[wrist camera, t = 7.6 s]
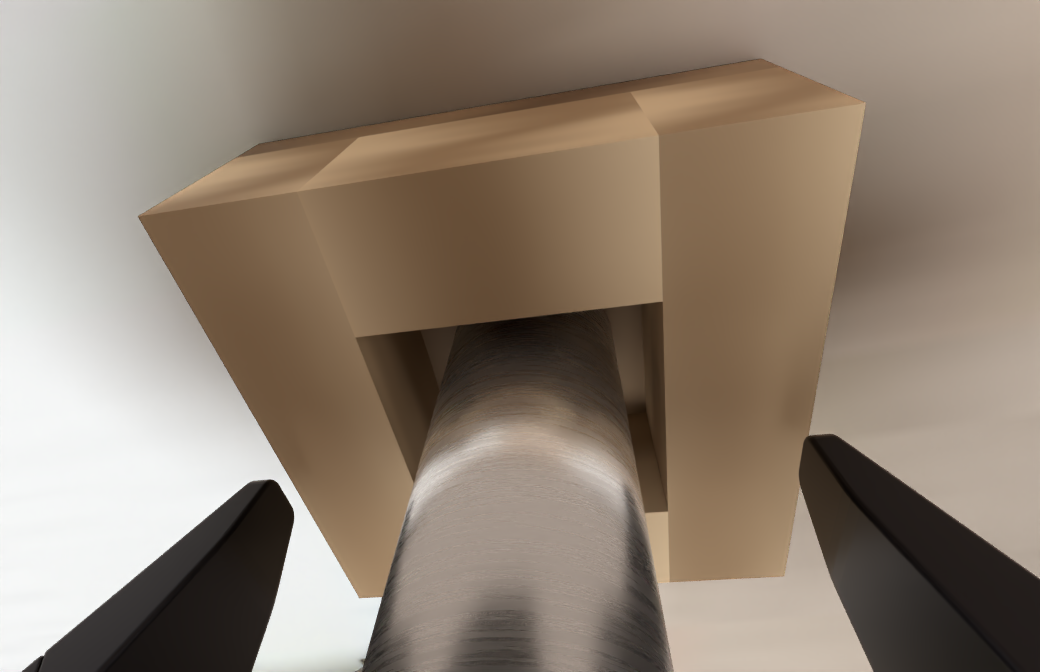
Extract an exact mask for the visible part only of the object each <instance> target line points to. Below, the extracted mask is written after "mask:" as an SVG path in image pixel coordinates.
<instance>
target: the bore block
mask: <svg viewBox="0 0 1040 672" xmlns="http://www.w3.org/2000/svg"><path fill="white" fill-rule="evenodd" d="M865 106H866V103H865V102H863V101H860V100H858V99H856V98H853V97H851V96H849V95H846V94H844V93H841V92H839V91H837V90H834V89H832V88H830V87H827V86H825V85H822V84H820V83H818V82H815V81H813V80H811V79H808V78H806V77H803V76H801V75H799V74H796V73H794V72H792V71H789V70H787V69H784V68H782V67H780V66H777V65H775V64H773V63H770V62H768V61H765V60H763V59H757V60H751V61H745V62H739V63H733V64H727V65H722V66H716V67H710V68H704V69H698V70H692V71H686V72H680V73H674V74H668V75H663V76H657V77H651V78H645V79H639V80H633V81H627V82H621V83H615V84H610V85H604V86H598V87H592V88H586V89H580V90H574V91H568V92H562V93H556V94H551V95H545V96H539V97H533V98H527V99H521V100H515V101H509V102H503V103H498V104H492V105H486V106H480V107H474V108H468V109H462V110H456V111H450V112H445V113H439V114H433V115H427V116H421V117H415V118H409V119H403V120H397V121H391V122H386V123H380V124H374V125H368V126H362V127H356V128H350V129H344V130H338V131H333V132H327V133H321V134H315V135H309V136H303V137H297V138H291V139H285V140H279V141H274V142H268V143H262V144H258V145H256V146H255V147H253V148H251V149H250V150H248V151H246V152H245V153H243V154H241V155H240V156H238V157H236V158H235V159H233V160H231V161H230V162H228V163H226V164H225V165H223V166H221V167H220V168H218V169H216V170H215V171H213V172H211V173H210V174H208V175H206V176H205V177H203V178H201V179H200V180H198V181H196V182H195V183H193V184H191V185H189V186H188V187H186V188H184V189H183V190H181V191H179V192H178V193H176V194H174V195H173V196H171V197H169V198H168V199H166V200H164V201H163V202H161V203H159V204H158V205H156V206H154V207H153V208H151V209H149V210H148V211H146V212H144V213H143V214H141V215H139V216H138V218H139V219H140V221H141V223H142V224H143V226H144V228H145V230H146V231H147V233H148V235H149V236H150V238H151V240H152V242H153V243H154V245H155V247H156V249H157V250H158V252H159V254H160V255H161V257H162V259H163V261H164V262H165V264H166V266H167V267H168V269H169V271H170V273H171V274H172V276H173V278H174V280H175V281H176V283H177V285H178V286H179V288H180V290H181V292H182V293H183V295H184V297H185V298H186V300H187V302H188V304H189V305H190V307H191V309H192V311H193V312H194V314H195V316H196V317H197V319H198V321H199V323H200V324H201V326H202V328H203V329H204V331H205V333H206V335H207V336H208V338H209V340H210V342H211V343H212V345H213V347H214V348H215V350H216V352H217V354H218V355H219V357H220V359H221V360H222V362H223V364H224V366H225V367H226V369H227V371H228V373H229V374H230V376H231V378H232V379H233V381H234V383H235V385H236V386H237V388H238V390H239V391H240V393H241V395H242V397H243V398H244V400H245V402H246V403H247V405H248V407H249V409H250V410H251V412H252V414H253V416H254V417H255V419H256V421H257V422H258V424H259V426H260V428H261V429H262V431H263V433H264V434H265V436H266V438H267V440H268V441H269V443H270V445H271V447H272V448H273V450H274V452H275V453H276V455H277V457H278V459H279V460H280V462H281V464H282V465H283V467H284V469H285V471H286V472H287V474H288V476H289V478H290V479H291V481H292V483H293V484H294V486H295V488H296V490H297V491H298V493H299V495H300V496H301V498H302V500H303V502H304V503H305V505H306V507H307V509H308V510H309V512H310V514H311V515H312V517H313V519H314V521H315V522H316V524H317V526H318V527H319V529H320V531H321V533H322V534H323V536H324V538H325V540H326V541H327V543H328V545H329V546H330V548H331V550H332V552H333V553H334V555H335V557H336V558H337V560H338V562H339V564H340V565H341V567H342V569H343V571H344V572H345V574H346V576H347V577H348V579H349V581H350V583H351V584H352V586H353V588H354V589H355V591H356V593H357V595H358V596H359V598H370V597H383V593H384V590H385V586H386V582H387V579H388V575H389V572H390V568H391V564H392V561H393V557H394V553H395V550H396V546H397V542H398V539H399V535H400V532H401V528H402V524H403V521H404V517H405V513H406V510H407V506H408V503H409V499H410V495H411V492H412V488H413V484H414V481H415V477H416V474H417V470H418V466H419V463H420V459H421V455H422V452H423V448H424V445H425V441H426V437H427V434H428V430H429V426H430V423H431V419H432V416H433V412H434V408H435V405H436V401H437V397H438V394H439V390H440V387H441V383H442V379H443V376H444V372H445V368H446V365H447V361H448V358H449V354H450V350H451V347H452V343H453V339H454V336H455V332H456V329H457V326H458V325H466V324H475V323H484V322H492V321H501V320H509V319H518V318H526V317H535V316H543V315H552V314H561V313H569V312H578V311H586V310H595V309H604V311H605V313H606V315H607V317H608V319H609V322H610V325H611V329H612V335H613V340H614V346H615V351H616V357H617V362H618V368H619V373H620V379H621V384H622V390H623V395H624V401H625V407H626V412H627V418H628V423H629V429H630V434H631V440H632V445H633V451H634V456H635V462H636V467H637V473H638V478H639V484H640V489H641V495H642V500H643V506H644V511H645V517H646V522H647V528H648V533H649V539H650V544H651V550H652V555H653V561H654V566H655V572H656V577H657V583H663V582H682V581H702V580H721V579H741V578H760V577H780V576H784V574H785V568H786V562H787V557H788V551H789V545H790V539H791V534H792V528H793V522H794V516H795V510H796V505H797V499H798V493H799V487H800V482H799V465H800V459H801V454H802V448H803V442H804V440H805V438H806V437H807V436H808V435H809V430H810V424H811V418H812V412H813V406H814V401H815V395H816V389H817V383H818V378H819V372H820V366H821V360H822V354H823V349H824V343H825V337H826V331H827V326H828V320H829V314H830V308H831V302H832V297H833V291H834V285H835V279H836V274H837V268H838V262H839V256H840V250H841V245H842V239H843V233H844V227H845V222H846V216H847V210H848V204H849V198H850V193H851V187H852V181H853V175H854V170H855V164H856V158H857V152H858V146H859V141H860V135H861V129H862V123H863V118H864V112H865Z"/></svg>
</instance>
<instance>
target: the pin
mask: <svg viewBox="0 0 1040 672" xmlns="http://www.w3.org/2000/svg"><path fill="white" fill-rule="evenodd" d="M362 672H674V671H673V665H672V660H671V654H670V649H669V643H668V638H667V632H666V627H665V621H664V616H663V610H662V605H661V599H660V594H659V588H658V583H657V577H656V572H655V566H654V561H653V555H652V550H651V544H650V539H649V533H648V528H647V522H646V517H645V511H644V506H643V500H642V495H641V489H640V484H639V478H638V473H637V467H636V462H635V456H634V451H633V445H632V440H631V434H630V429H629V423H628V418H627V412H626V407H625V401H624V395H623V390H622V384H621V379H620V373H619V368H618V362H617V357H616V351H615V346H614V340H613V335H612V329H611V325H610V322H609V319H608V317H607V315H606V313H605V311H604V309H595V310H586V311H578V312H569V313H561V314H552V315H543V316H535V317H526V318H518V319H509V320H501V321H492V322H484V323H475V324H466V325H458V326H457V329H456V332H455V336H454V339H453V343H452V347H451V350H450V354H449V358H448V361H447V365H446V368H445V372H444V376H443V379H442V383H441V387H440V390H439V394H438V397H437V401H436V405H435V408H434V412H433V416H432V419H431V423H430V426H429V430H428V434H427V437H426V441H425V445H424V448H423V452H422V455H421V459H420V463H419V466H418V470H417V474H416V477H415V481H414V484H413V488H412V492H411V495H410V499H409V503H408V506H407V510H406V513H405V517H404V521H403V524H402V528H401V532H400V535H399V539H398V542H397V546H396V550H395V553H394V557H393V561H392V564H391V568H390V572H389V575H388V579H387V582H386V586H385V590H384V593H383V597H382V601H381V604H380V608H379V611H378V615H377V619H376V622H375V626H374V630H373V633H372V637H371V640H370V644H369V648H368V651H367V655H366V659H365V662H364V666H363V669H362Z"/></svg>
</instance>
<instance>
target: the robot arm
mask: <svg viewBox="0 0 1040 672" xmlns="http://www.w3.org/2000/svg"><path fill="white" fill-rule="evenodd" d="M799 482H800V486H801V489H802V493H803V496H804V499H805V502H806V505H807V508H808V511H809V514H810V517H811V520H812V523H813V526H814V529H815V532H816V535H817V538H818V541H819V544H820V547H821V550H822V553H823V556H824V559H825V562H826V565H827V568H828V571H829V574H830V576H831V579H832V581H833V584H834V586H835V588H836V591H837V593H838V595H839V597H840V600H841V602H842V604H843V606H844V608H845V610H846V613H847V615H848V617H849V619H850V621H851V624H852V626H853V628H854V630H855V632H856V634H857V637H858V639H859V641H860V643H861V645H862V648H863V650H864V652H865V654H866V656H867V658H868V661H869V663H870V665H871V667H872V669H873V672H1040V579H1039V578H1038V577H1037V576H1035V575H1034V574H1032V573H1031V572H1029V571H1028V570H1027V569H1025V568H1024V567H1022V566H1021V565H1020V564H1018V563H1017V562H1015V561H1014V560H1012V559H1011V558H1010V557H1008V556H1007V555H1005V554H1004V553H1003V552H1001V551H1000V550H998V549H997V548H995V547H994V546H993V545H991V544H990V543H988V542H987V541H986V540H984V539H983V538H981V537H980V536H978V535H977V534H976V533H974V532H973V531H971V530H970V529H969V528H967V527H966V526H964V525H963V524H961V523H960V522H959V521H957V520H956V519H954V518H953V517H952V516H950V515H949V514H947V513H946V512H944V511H943V510H942V509H940V508H939V507H937V506H936V505H935V504H933V503H932V502H930V501H929V500H927V499H926V498H925V497H923V496H922V495H920V494H919V493H918V492H916V491H915V490H913V489H912V488H910V487H909V486H908V485H906V484H905V483H903V482H902V481H901V480H899V479H898V478H896V477H895V476H893V475H892V474H891V473H889V472H888V471H886V470H885V469H884V468H882V467H881V466H879V465H878V464H876V463H875V462H874V461H872V460H871V459H869V458H868V457H867V456H865V455H864V454H862V453H861V452H859V451H858V450H857V449H855V448H854V447H852V446H851V445H850V444H848V443H847V442H845V441H844V440H842V439H841V438H840V437H838V436H836V435H834V434H822V435H810V436H807V437H806V438H805V440H804V442H803V448H802V454H801V459H800V465H799ZM293 523H294V511H293V508H292V506H291V504H290V503H289V501H288V499H287V498H286V496H285V494H284V493H283V491H282V489H281V488H280V486H279V484H278V483H277V482H276V481H274V480H258V481H252V482H250V483H248V484H247V485H245V486H244V487H243V488H242V489H241V490H239V491H238V492H237V493H236V494H235V495H233V496H232V497H231V498H230V499H229V500H227V501H226V502H225V503H224V504H223V505H221V506H220V507H219V508H218V509H217V510H215V511H214V512H213V513H212V514H211V515H209V516H208V517H207V518H206V519H205V520H203V521H202V522H201V523H200V524H199V525H197V526H196V527H195V528H194V529H193V530H191V531H190V532H189V533H188V534H187V535H185V536H184V537H183V538H182V539H181V540H179V541H178V542H177V543H176V544H175V545H173V546H172V547H171V548H170V549H169V550H167V551H166V552H165V553H164V554H163V555H161V556H160V557H159V558H158V559H156V560H155V561H154V562H153V563H152V564H150V565H149V566H148V567H147V568H146V569H144V570H143V571H142V572H141V573H140V574H138V575H137V576H136V577H135V578H134V579H132V580H131V581H130V582H129V583H128V584H126V585H125V586H124V587H123V588H122V589H120V590H119V591H118V592H117V593H116V594H114V595H113V596H112V597H111V598H110V599H108V600H107V601H106V602H105V603H104V604H102V605H101V606H100V607H99V608H98V609H96V610H95V611H94V612H93V613H92V614H90V615H89V616H88V617H87V618H86V619H84V620H83V621H82V622H81V623H80V624H78V625H77V626H76V627H75V628H74V629H72V630H71V631H70V632H69V633H68V634H66V635H65V636H64V637H63V638H62V639H60V640H59V641H58V642H57V643H56V644H54V645H53V646H52V647H51V648H50V649H48V650H47V651H46V652H45V655H44V656H40V657H39V658H37V659H36V660H35V661H34V662H33V663H31V664H30V665H29V666H28V667H27V668H25V669H24V670H23V671H22V672H252V669H253V666H254V663H255V660H256V657H257V654H258V651H259V649H260V646H261V643H262V640H263V637H264V634H265V631H266V628H267V625H268V622H269V619H270V616H271V613H272V610H273V606H274V603H275V599H276V595H277V592H278V588H279V583H280V579H281V575H282V570H283V566H284V562H285V558H286V553H287V549H288V545H289V540H290V536H291V532H292V528H293Z"/></svg>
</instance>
